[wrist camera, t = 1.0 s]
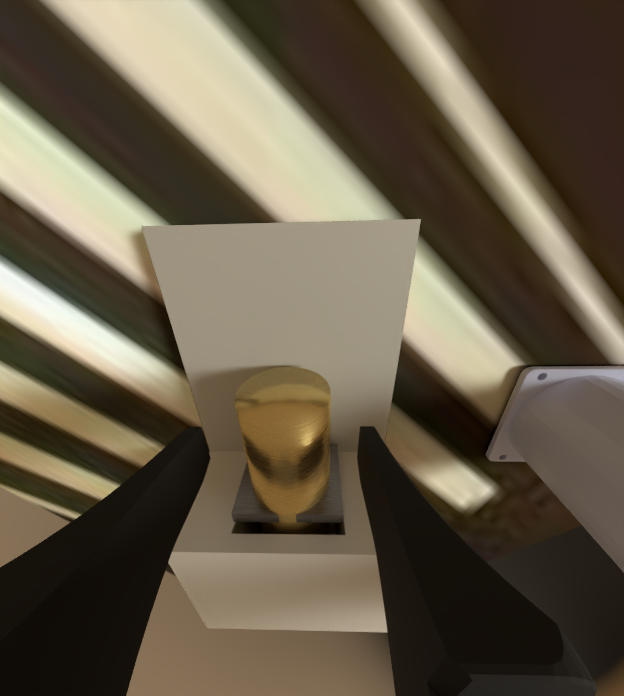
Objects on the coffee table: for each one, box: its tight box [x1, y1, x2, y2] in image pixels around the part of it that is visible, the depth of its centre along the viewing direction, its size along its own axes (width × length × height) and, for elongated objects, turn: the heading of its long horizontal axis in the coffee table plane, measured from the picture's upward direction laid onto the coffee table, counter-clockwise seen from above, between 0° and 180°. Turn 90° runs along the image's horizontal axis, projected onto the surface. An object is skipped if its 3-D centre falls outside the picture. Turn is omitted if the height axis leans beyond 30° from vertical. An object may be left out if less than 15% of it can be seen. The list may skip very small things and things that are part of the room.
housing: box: [141, 219, 421, 632], centre depth 14 cm, size 12×24×7 cm, turn 1°
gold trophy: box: [231, 367, 344, 535], centre depth 14 cm, size 6×14×4 cm, turn 1°
